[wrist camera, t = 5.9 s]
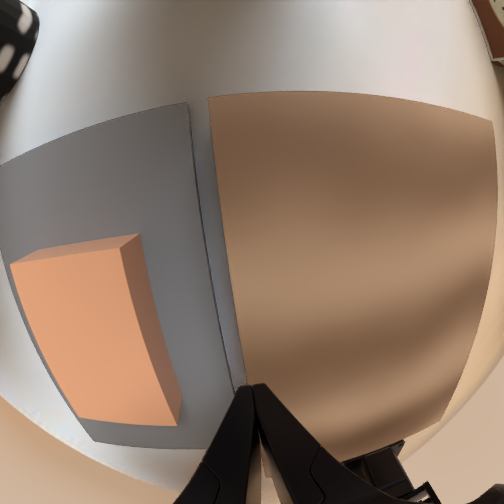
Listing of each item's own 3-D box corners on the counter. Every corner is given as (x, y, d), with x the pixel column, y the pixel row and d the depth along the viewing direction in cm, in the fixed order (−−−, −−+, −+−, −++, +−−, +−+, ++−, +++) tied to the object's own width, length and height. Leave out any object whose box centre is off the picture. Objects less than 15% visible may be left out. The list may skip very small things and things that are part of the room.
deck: (414, 387, 16) (439, 420, 12) (258, 430, 15) (265, 477, 12) (440, 126, 11) (492, 121, 7) (214, 123, 10) (207, 97, 7)
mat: (245, 439, 16) (246, 445, 15) (95, 436, 15) (94, 441, 14) (188, 105, 10) (186, 102, 10) (-5, 171, 9) (-11, 172, 9)
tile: (78, 417, 11) (91, 390, 13) (177, 426, 11) (182, 394, 13) (9, 264, 8) (38, 249, 10) (119, 247, 8) (139, 233, 11)
